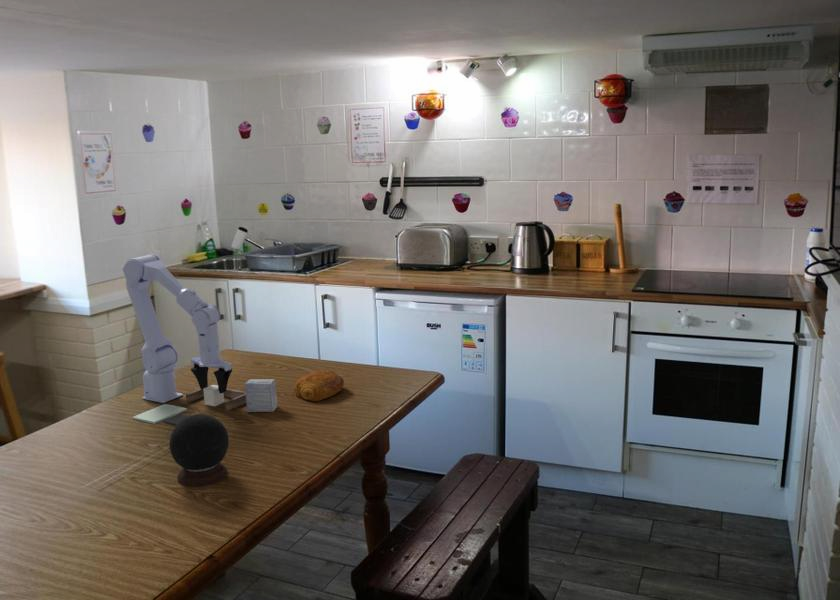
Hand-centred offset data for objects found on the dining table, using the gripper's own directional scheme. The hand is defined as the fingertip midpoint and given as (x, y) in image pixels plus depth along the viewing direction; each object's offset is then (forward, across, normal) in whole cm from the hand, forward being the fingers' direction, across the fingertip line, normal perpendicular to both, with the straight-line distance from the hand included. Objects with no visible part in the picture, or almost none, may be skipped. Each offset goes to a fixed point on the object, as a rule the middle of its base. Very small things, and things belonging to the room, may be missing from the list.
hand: (213, 390), depth 225 cm
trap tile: (+4, +1, -15) cm, 16 cm away
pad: (+4, -8, -14) cm, 16 cm away
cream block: (+4, 0, 0) cm, 4 cm away
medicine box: (+4, +17, +2) cm, 18 cm away
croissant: (+4, +23, +21) cm, 31 cm away
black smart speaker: (+4, +34, -39) cm, 52 cm away
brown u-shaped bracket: (+4, 0, +2) cm, 4 cm away
